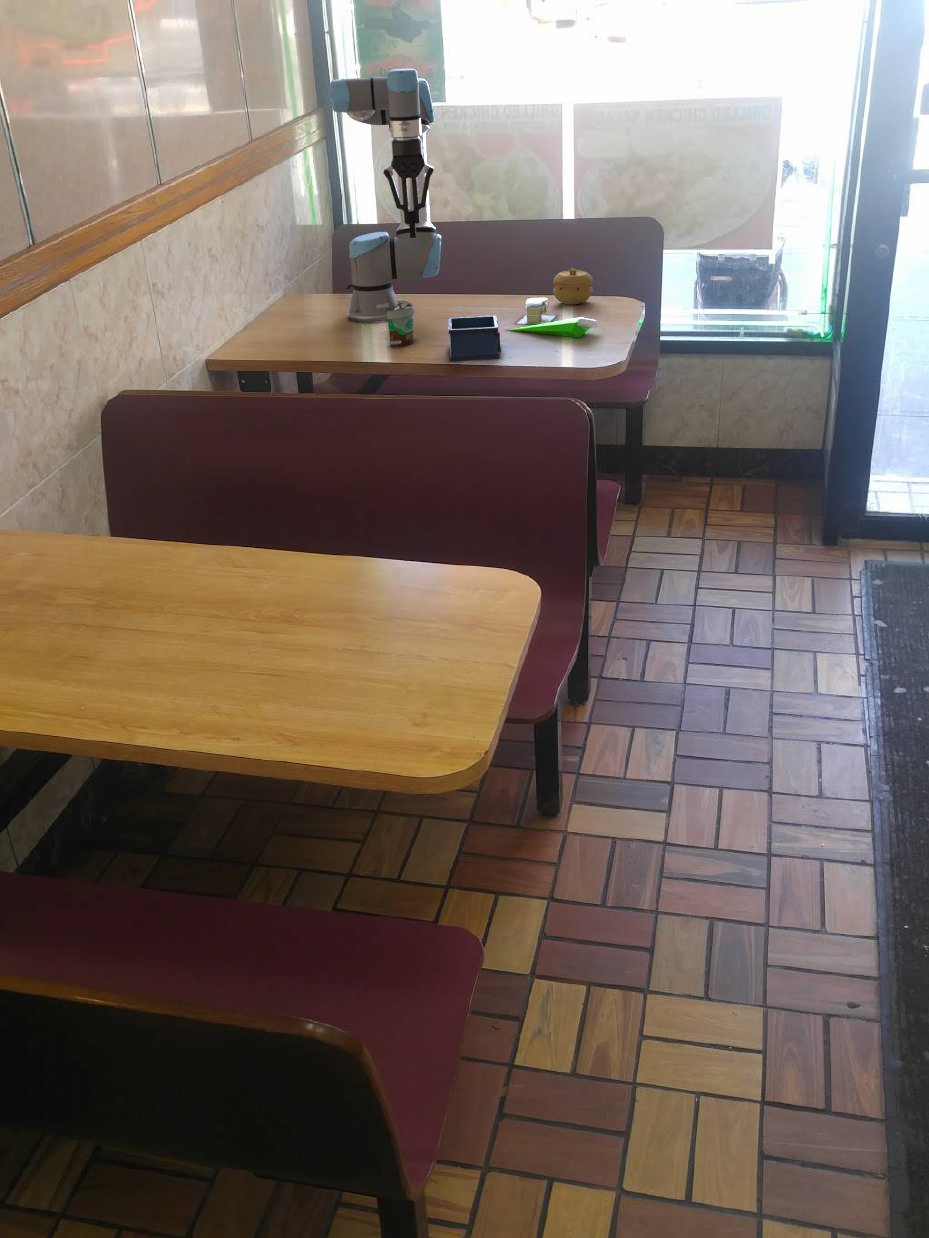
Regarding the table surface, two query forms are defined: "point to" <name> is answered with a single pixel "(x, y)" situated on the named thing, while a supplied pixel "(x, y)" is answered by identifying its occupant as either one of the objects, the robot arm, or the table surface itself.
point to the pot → (572, 286)
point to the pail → (474, 338)
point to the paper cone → (562, 327)
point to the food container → (401, 324)
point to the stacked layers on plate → (536, 312)
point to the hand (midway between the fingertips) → (413, 236)
